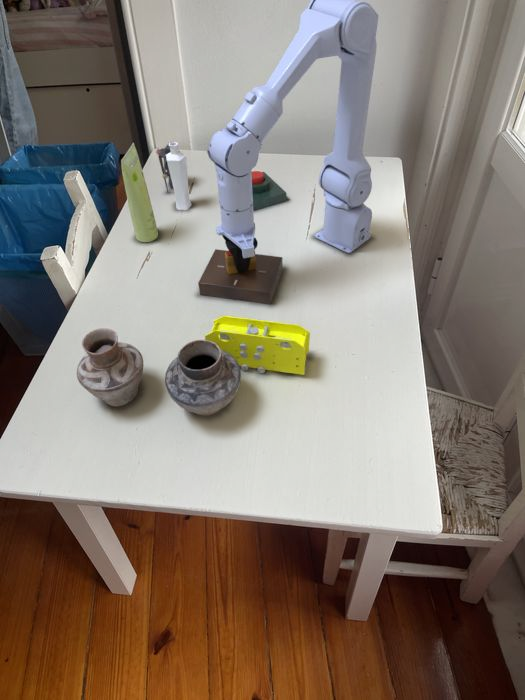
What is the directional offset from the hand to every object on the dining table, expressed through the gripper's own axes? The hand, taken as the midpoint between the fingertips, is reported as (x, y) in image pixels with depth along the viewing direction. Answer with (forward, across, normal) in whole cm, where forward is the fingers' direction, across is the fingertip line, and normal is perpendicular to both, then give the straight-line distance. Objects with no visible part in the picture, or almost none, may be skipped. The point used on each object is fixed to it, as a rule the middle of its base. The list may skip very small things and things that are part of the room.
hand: (241, 267), depth 93 cm
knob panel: (+4, 0, 0) cm, 4 cm away
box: (+4, -31, +12) cm, 34 cm away
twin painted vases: (+4, +24, -19) cm, 31 cm away
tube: (+4, -22, -16) cm, 27 cm away
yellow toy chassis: (+4, +21, -3) cm, 22 cm away
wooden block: (+1, 0, 0) cm, 1 cm away
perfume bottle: (+4, -32, -6) cm, 33 cm away
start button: (0, -31, +12) cm, 33 cm away
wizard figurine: (+4, -41, -7) cm, 42 cm away
